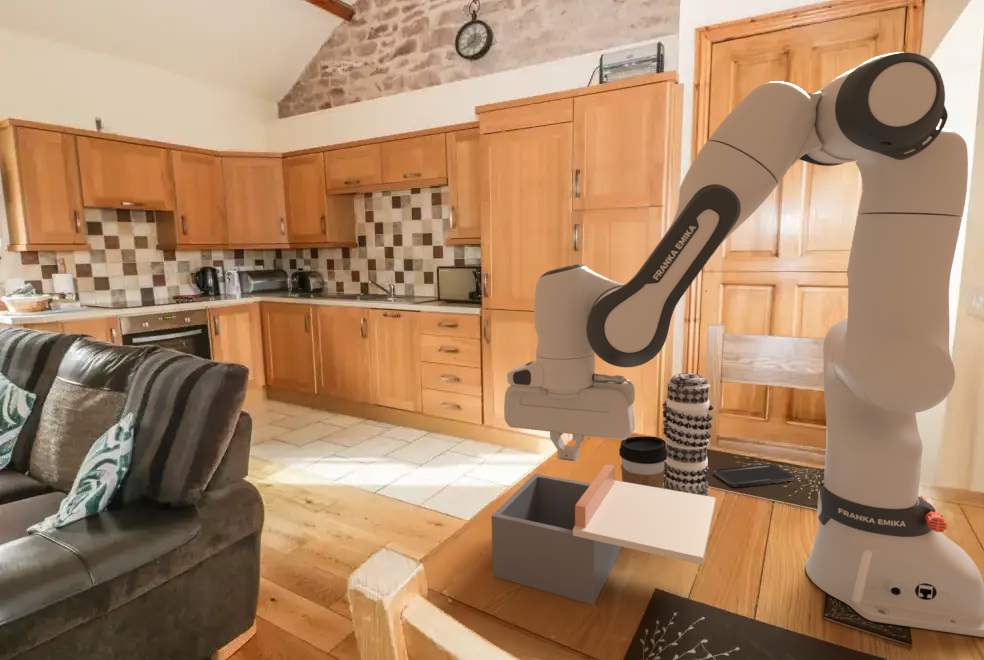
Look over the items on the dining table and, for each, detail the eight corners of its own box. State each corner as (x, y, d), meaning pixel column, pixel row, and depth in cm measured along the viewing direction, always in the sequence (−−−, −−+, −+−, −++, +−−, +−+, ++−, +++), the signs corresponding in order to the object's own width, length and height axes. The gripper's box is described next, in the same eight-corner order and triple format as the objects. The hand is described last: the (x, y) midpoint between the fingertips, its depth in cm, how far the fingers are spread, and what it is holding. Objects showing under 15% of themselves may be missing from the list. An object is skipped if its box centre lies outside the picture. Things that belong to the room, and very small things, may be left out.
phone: (711, 470, 117) (772, 463, 120) (711, 474, 117) (772, 468, 120) (733, 485, 110) (798, 477, 112) (733, 490, 110) (797, 482, 112)
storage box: (623, 545, 90) (623, 489, 88) (594, 605, 75) (594, 538, 73) (535, 525, 97) (534, 473, 96) (493, 576, 82) (491, 515, 81)
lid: (715, 503, 82) (716, 479, 82) (702, 565, 66) (703, 535, 66) (607, 484, 90) (607, 462, 89) (572, 535, 74) (572, 508, 74)
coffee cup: (668, 532, 94) (670, 450, 91) (619, 528, 95) (619, 448, 93) (663, 509, 102) (664, 434, 100) (618, 506, 103) (618, 432, 101)
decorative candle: (673, 483, 113) (676, 368, 109) (717, 496, 106) (721, 374, 103) (652, 498, 106) (654, 376, 103) (697, 513, 100) (701, 383, 96)
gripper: (639, 371, 79) (640, 460, 81) (514, 365, 88) (518, 444, 90) (629, 381, 73) (630, 476, 75) (497, 373, 83) (501, 458, 85)
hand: (568, 459), depth 83 cm, fingers closed
